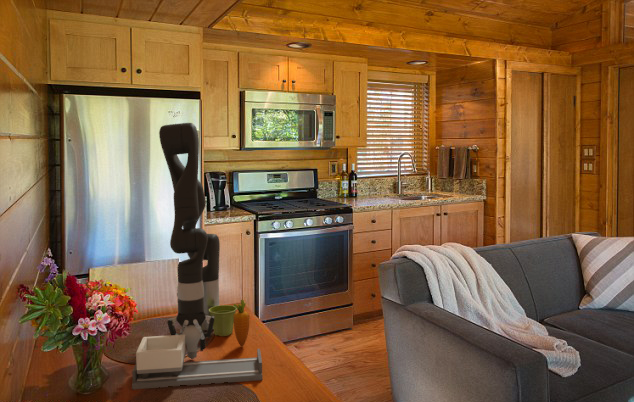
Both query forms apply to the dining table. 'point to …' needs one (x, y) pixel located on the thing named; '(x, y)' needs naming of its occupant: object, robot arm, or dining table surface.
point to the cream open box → (160, 355)
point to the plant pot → (223, 319)
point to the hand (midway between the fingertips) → (192, 350)
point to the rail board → (204, 373)
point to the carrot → (241, 323)
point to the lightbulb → (192, 340)
